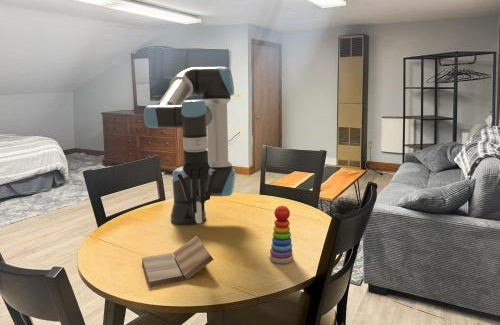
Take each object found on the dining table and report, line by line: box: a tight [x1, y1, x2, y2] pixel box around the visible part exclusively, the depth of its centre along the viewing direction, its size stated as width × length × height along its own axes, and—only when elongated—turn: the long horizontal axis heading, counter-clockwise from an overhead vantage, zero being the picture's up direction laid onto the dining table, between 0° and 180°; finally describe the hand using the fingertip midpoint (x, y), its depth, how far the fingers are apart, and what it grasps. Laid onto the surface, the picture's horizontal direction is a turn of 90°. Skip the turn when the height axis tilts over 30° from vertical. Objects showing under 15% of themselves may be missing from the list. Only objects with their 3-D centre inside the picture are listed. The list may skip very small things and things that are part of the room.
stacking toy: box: [269, 205, 294, 265], centre depth 140 cm, size 8×8×19 cm
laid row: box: [141, 252, 184, 288], centre depth 134 cm, size 18×10×2 cm, turn 21°
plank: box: [172, 235, 214, 280], centre depth 137 cm, size 18×10×2 cm
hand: (198, 221), depth 136 cm, fingers closed
